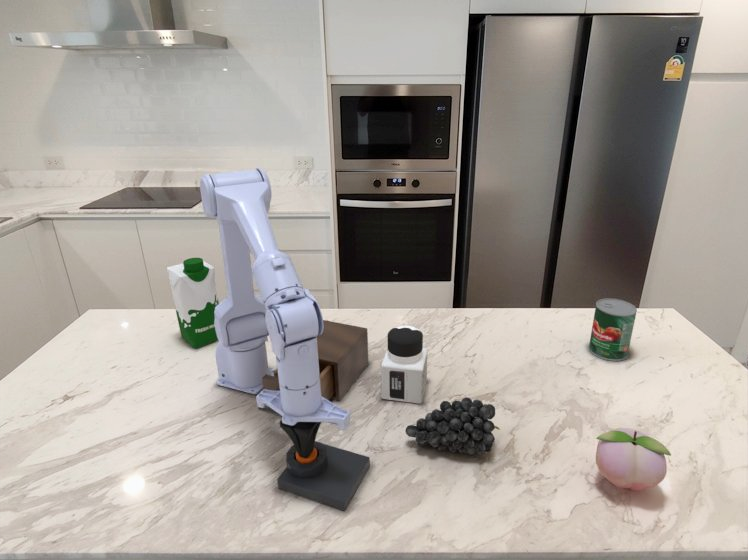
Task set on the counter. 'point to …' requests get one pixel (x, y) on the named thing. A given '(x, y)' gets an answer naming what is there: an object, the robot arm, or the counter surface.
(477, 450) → the fruit
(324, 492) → the button block
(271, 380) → the drawer
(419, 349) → the container
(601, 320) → the canned tomato
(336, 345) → the cabinet
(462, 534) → the counter surface
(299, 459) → the button
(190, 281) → the milk carton
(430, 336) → the counter surface
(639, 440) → the decorative fruit
